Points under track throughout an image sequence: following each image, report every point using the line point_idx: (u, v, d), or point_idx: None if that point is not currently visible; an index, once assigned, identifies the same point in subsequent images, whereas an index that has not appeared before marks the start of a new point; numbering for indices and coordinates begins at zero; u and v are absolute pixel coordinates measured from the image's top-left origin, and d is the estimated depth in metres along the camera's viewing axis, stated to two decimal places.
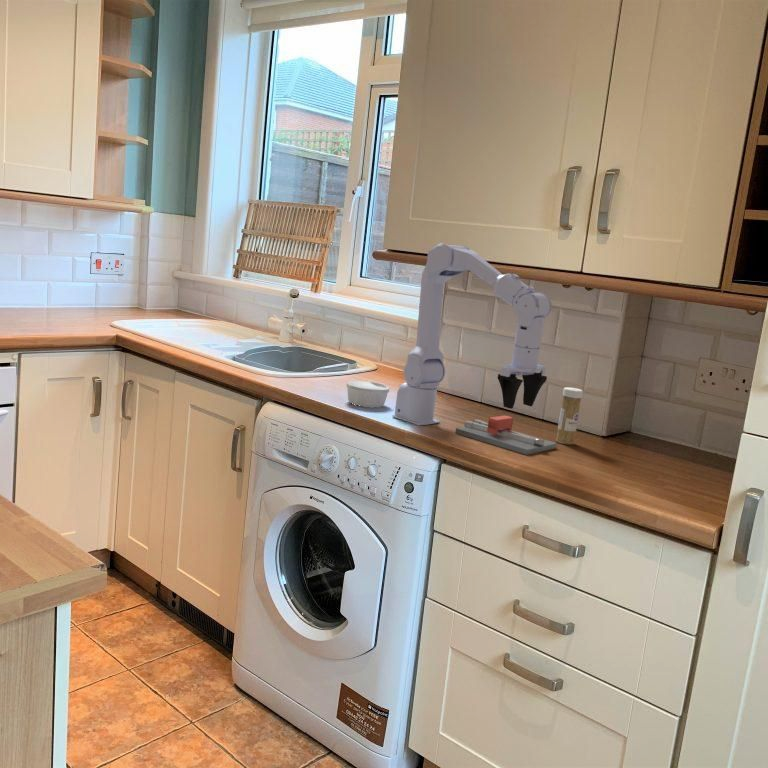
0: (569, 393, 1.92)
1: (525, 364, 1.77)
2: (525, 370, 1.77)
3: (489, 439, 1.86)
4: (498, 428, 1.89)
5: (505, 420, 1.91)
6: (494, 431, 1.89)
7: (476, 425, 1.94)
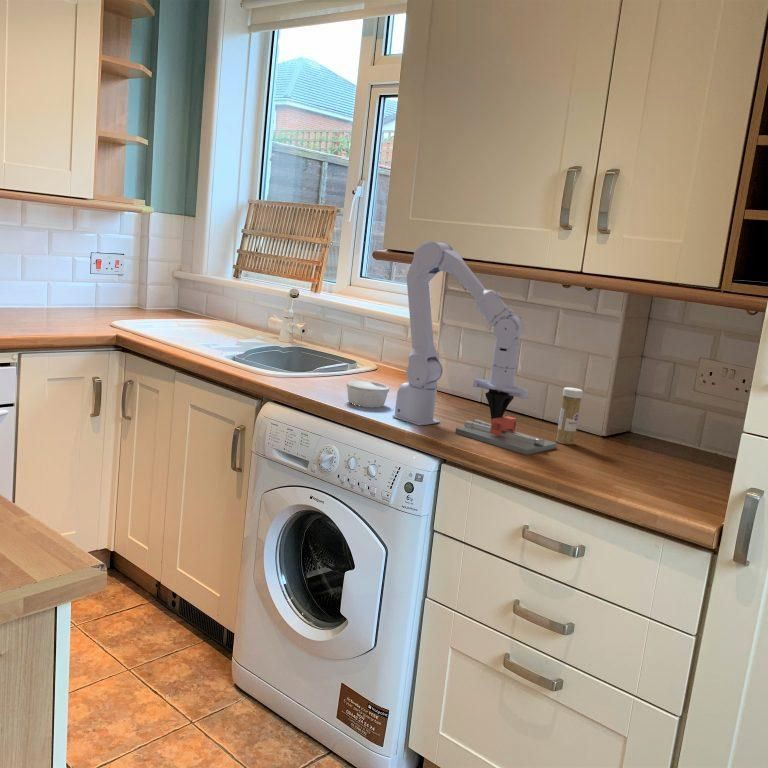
0: (569, 393, 1.92)
1: None
2: (486, 384, 1.91)
3: (489, 439, 1.86)
4: (501, 429, 1.89)
5: (508, 421, 1.90)
6: (497, 432, 1.89)
7: (476, 425, 1.94)
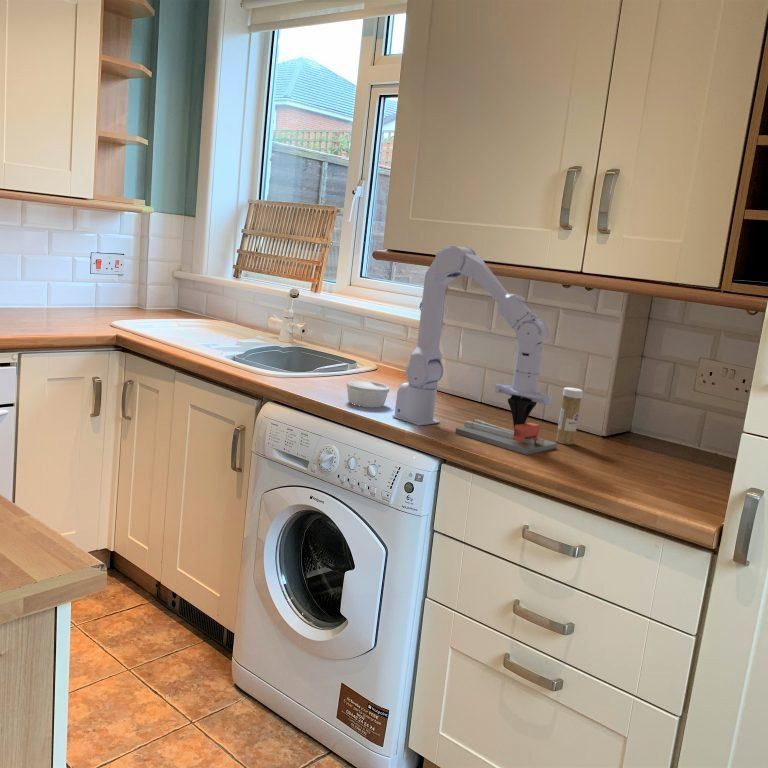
0: (569, 393, 1.92)
1: (512, 385, 1.87)
2: (508, 390, 1.87)
3: (489, 439, 1.86)
4: (524, 436, 1.85)
5: (531, 427, 1.86)
6: (520, 439, 1.84)
7: (476, 425, 1.94)
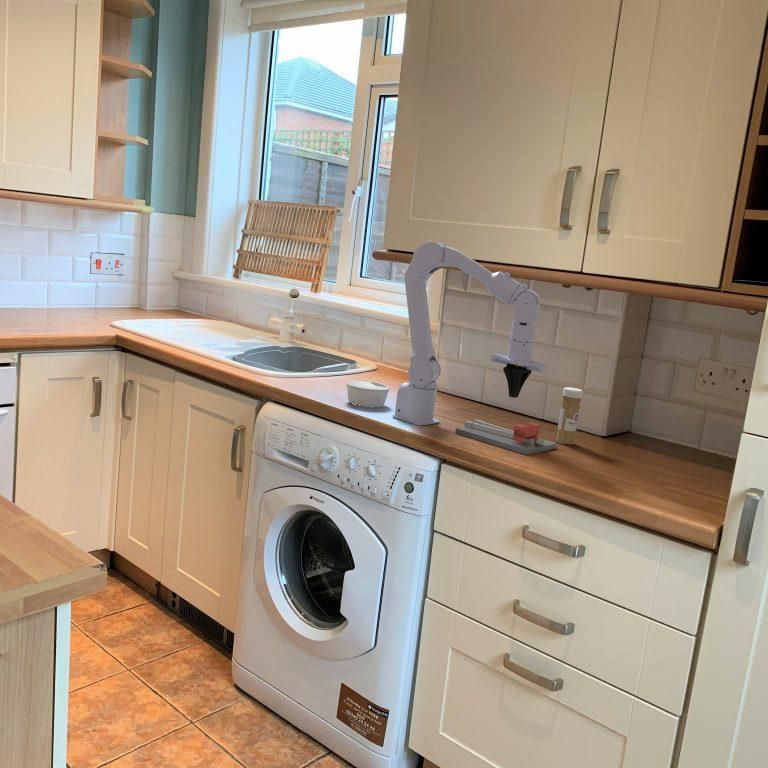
0: (569, 393, 1.92)
1: None
2: (504, 359, 1.92)
3: (489, 439, 1.86)
4: (524, 436, 1.85)
5: (531, 427, 1.86)
6: (520, 439, 1.84)
7: (476, 425, 1.94)
